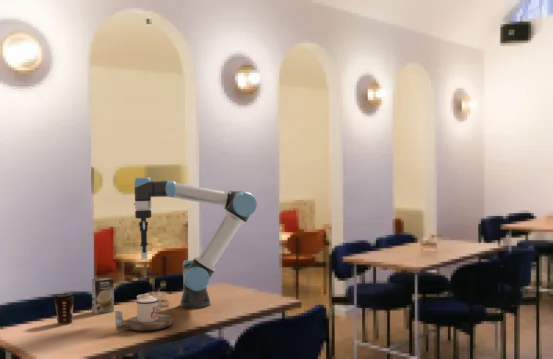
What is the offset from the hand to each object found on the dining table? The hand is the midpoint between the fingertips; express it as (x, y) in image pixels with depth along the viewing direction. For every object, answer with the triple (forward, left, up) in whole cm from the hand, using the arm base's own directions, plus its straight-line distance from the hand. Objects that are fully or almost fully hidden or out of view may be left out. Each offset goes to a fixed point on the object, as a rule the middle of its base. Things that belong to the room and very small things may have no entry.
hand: (144, 259), depth 287 cm
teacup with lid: (-1, +24, -24) cm, 33 cm away
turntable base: (-1, +24, -26) cm, 36 cm away
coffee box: (+20, -13, -27) cm, 36 cm away
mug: (-2, +4, -27) cm, 27 cm away
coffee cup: (+36, +5, -27) cm, 45 cm away
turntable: (0, +26, -25) cm, 36 cm away
